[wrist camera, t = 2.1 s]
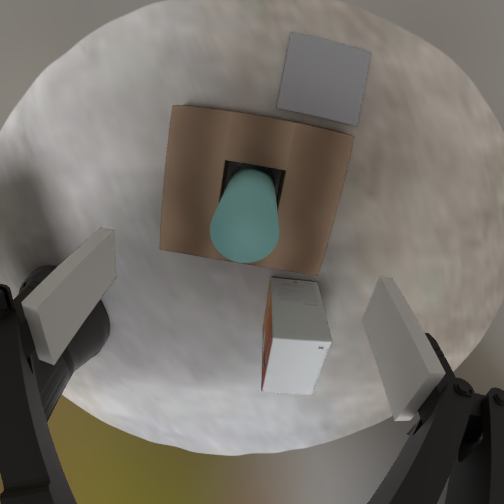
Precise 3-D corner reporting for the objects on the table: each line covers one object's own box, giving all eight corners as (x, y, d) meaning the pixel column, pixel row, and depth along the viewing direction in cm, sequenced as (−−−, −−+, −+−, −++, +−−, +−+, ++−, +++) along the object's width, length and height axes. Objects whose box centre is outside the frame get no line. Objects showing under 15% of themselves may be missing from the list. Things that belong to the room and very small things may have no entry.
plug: (227, 200, 33) (206, 256, 21) (234, 159, 31) (214, 193, 19) (269, 207, 33) (271, 268, 21) (277, 166, 31) (285, 205, 19)
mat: (276, 108, 29) (276, 108, 28) (290, 33, 25) (290, 31, 25) (355, 126, 29) (356, 126, 28) (369, 53, 25) (371, 52, 25)
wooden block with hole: (170, 233, 35) (159, 249, 31) (183, 105, 29) (172, 105, 25) (312, 257, 35) (317, 275, 32) (344, 132, 29) (354, 136, 26)
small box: (270, 275, 37) (271, 336, 27) (318, 280, 37) (333, 340, 27) (261, 329, 40) (259, 393, 31) (304, 333, 40) (312, 396, 31)
